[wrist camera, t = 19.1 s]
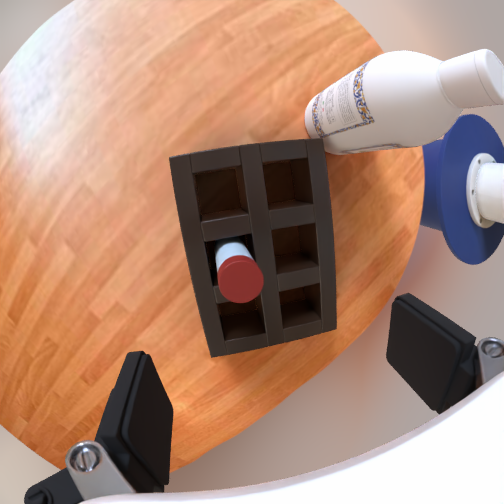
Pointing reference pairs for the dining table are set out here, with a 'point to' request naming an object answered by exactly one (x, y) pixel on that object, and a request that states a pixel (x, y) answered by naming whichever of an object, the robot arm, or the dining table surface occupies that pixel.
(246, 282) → the test tube
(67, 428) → the dining table surface
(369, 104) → the bath foam
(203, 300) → the rack
